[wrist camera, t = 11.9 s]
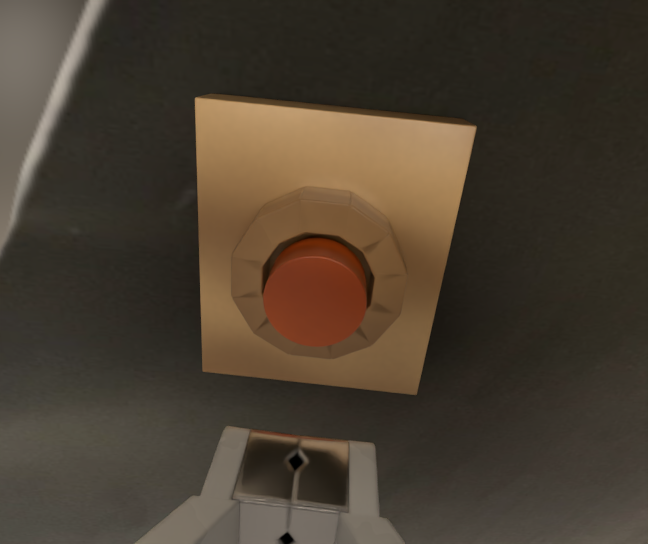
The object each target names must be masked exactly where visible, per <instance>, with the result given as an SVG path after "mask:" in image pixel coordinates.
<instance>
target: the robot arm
mask: <svg viewBox="0 0 648 544" xmlns="http://www.w3.org/2000/svg"><path fill="white" fill-rule="evenodd" d="M134 544H406V543H405V542H404V541H403V539H402V538H401V536H400V535H399V533H398V532H397V531H396V529H395V528H394V526H393V525H392V524H391V522H390V521H389V519H388V518H384V517H380V513H379V497H378V480H377V464H376V447H375V445H374V443H369V442H360V441H350V440H349V442H348V440H341V439H332V438H322V437H312V436H303V435H300V436H299V435H292V434H285V433H277V432H270V431H263V430H256V429H245V428H238V427H231V426H226V428H225V429H224V431H223V432H222V435H221V438H220V441H219V443H218V446H217V449H216V452H215V455H214V458H213V461H212V464H211V466H210V469H209V472H208V475H207V478H206V481H205V484H204V486H203V489H202V492H201V495H200V496H196V495H192V496H191V497H190V498H188V499H187V500H186V501H185V502H184V503H182V504H181V505H180V506H179V507H178V508H176V509H175V510H174V511H173V512H172V513H170V514H169V515H168V516H167V517H166V518H164V519H163V520H162V521H161V522H160V523H158V524H157V525H156V526H155V527H154V528H152V529H151V530H150V531H149V532H148V533H146V534H145V535H144V536H143V537H141V538H140V539H139V540H138V541H137V542H135V543H134Z"/></svg>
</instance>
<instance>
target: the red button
mask: <svg viewBox="0 0 648 544" xmlns="http://www.w3.org/2000/svg"><path fill="white" fill-rule="evenodd" d="M263 305H264V310H265V313H266V316H267V318H268V320H269V321H270V323H271V324H272V326H273V327H274V328H275V329H276V330H277V331H278V332H279V333H280V334H281V335H282V336H284V337H285V338H287V339H289V340H290V341H292V342H295V343H297V344H301V345H304V346H310V347H324V346H330V345H333V344H336V343H339V342H341V341H343V340H345V339H346V338H348V337H349V336H350V335H352V334H353V333H354V332H355V331H356V330H357V328H358V327H359V326H360V324H361V323H362V321H363V319H364V316H365V313H366V309H367V294H366V278H365V272H364V269H363V266H362V264H361V262H360V261H359V259H358V258H357V256H356V255H355V254H354V253H353V252H352V251H351V250H350V249H348V248H347V247H346V246H344V245H342V244H341V243H338V242H336V241H333V240H330V239H325V238H308V239H303V240H300V241H297V242H295V243H293V244H291V245H290V246H288V247H287V248H285V249H284V250H283V251H282V252H281V253H280V255H279V256H278V257H277V259H276V260H275V262H274V265H273V267H272V269H271V272H270V275H269V277H268V280H267V282H266V285H265V288H264V293H263Z"/></svg>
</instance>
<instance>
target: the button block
mask: <svg viewBox="0 0 648 544" xmlns="http://www.w3.org/2000/svg"><path fill="white" fill-rule="evenodd" d="M195 121H196V156H197V192H198V227H199V263H200V298H201V334H202V369H203V372H212V373H221V374H230V375H239V376H248V377H257V378H266V379H275V380H284V381H293V382H303V383H312V384H321V385H330V386H339V387H348V388H357V389H366V390H375V391H384V392H393V393H402V394H411V395H416V394H417V391H418V387H419V382H420V378H421V373H422V369H423V364H424V360H425V356H426V351H427V347H428V342H429V338H430V333H431V329H432V324H433V320H434V316H435V311H436V307H437V302H438V298H439V293H440V289H441V284H442V280H443V275H444V271H445V267H446V262H447V258H448V253H449V249H450V244H451V240H452V235H453V231H454V227H455V222H456V218H457V213H458V209H459V204H460V200H461V195H462V191H463V187H464V182H465V178H466V173H467V169H468V164H469V160H470V155H471V151H472V147H473V142H474V138H475V133H476V129H477V126H475V125H473V124H471V123H470V122H468V121H466V120H464V119H461V118H451V117H441V116H431V115H421V114H411V113H402V112H392V111H382V110H372V109H362V108H353V107H343V106H333V105H323V104H313V103H303V102H294V101H284V100H274V99H264V98H254V97H245V96H235V95H225V94H215V93H212V94H208V95H204V96H199V97H196V98H195ZM308 238H325V239H330V240H333V241H336V242H338V243H341V244H342V245H344V246H346V247H347V248H348V249H350V250H351V251H352V252H353V253H354V254H355V255H356V256H357V258H358V259H359V261H360V262H361V264H362V266H363V269H364V272H365V278H366V294H367V309H366V313H365V316H364V319H363V321H362V323H361V324H360V326H359V327H358V328H357V330H356V331H355V332H354V333H353V334H352V335H350V336H349V337H348V338H346V339H345V340H343V341H341V342H339V343H336V344H333V345H330V346H324V347H310V346H304V345H301V344H297V343H295V342H292V341H290V340H289V339H287V338H285V337H284V336H282V335H281V334H280V333H279V332H278V331H277V330H276V329H275V328H274V327H273V326H272V324H271V323H270V321H269V320H268V318H267V316H266V313H265V310H264V305H263V293H264V288H265V285H266V282H267V280H268V277H269V275H270V272H271V269H272V267H273V265H274V262H275V260H276V259H277V257H278V256H279V255H280V253H281V252H282V251H283V250H284V249H285V248H287V247H288V246H290V245H291V244H293V243H295V242H297V241H300V240H303V239H308Z"/></svg>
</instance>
